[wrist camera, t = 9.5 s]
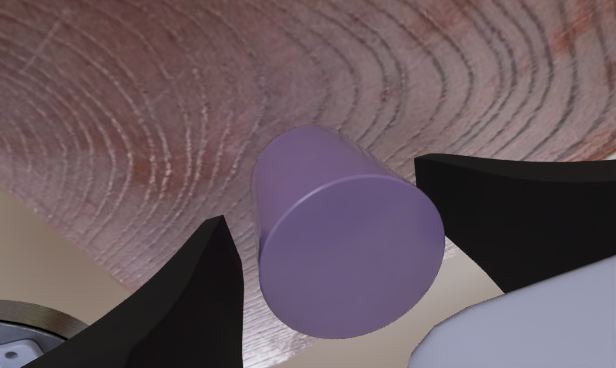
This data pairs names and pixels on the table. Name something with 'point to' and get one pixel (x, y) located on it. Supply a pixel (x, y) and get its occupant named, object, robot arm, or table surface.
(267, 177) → the purple round peg
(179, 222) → the table surface
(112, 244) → the table surface
